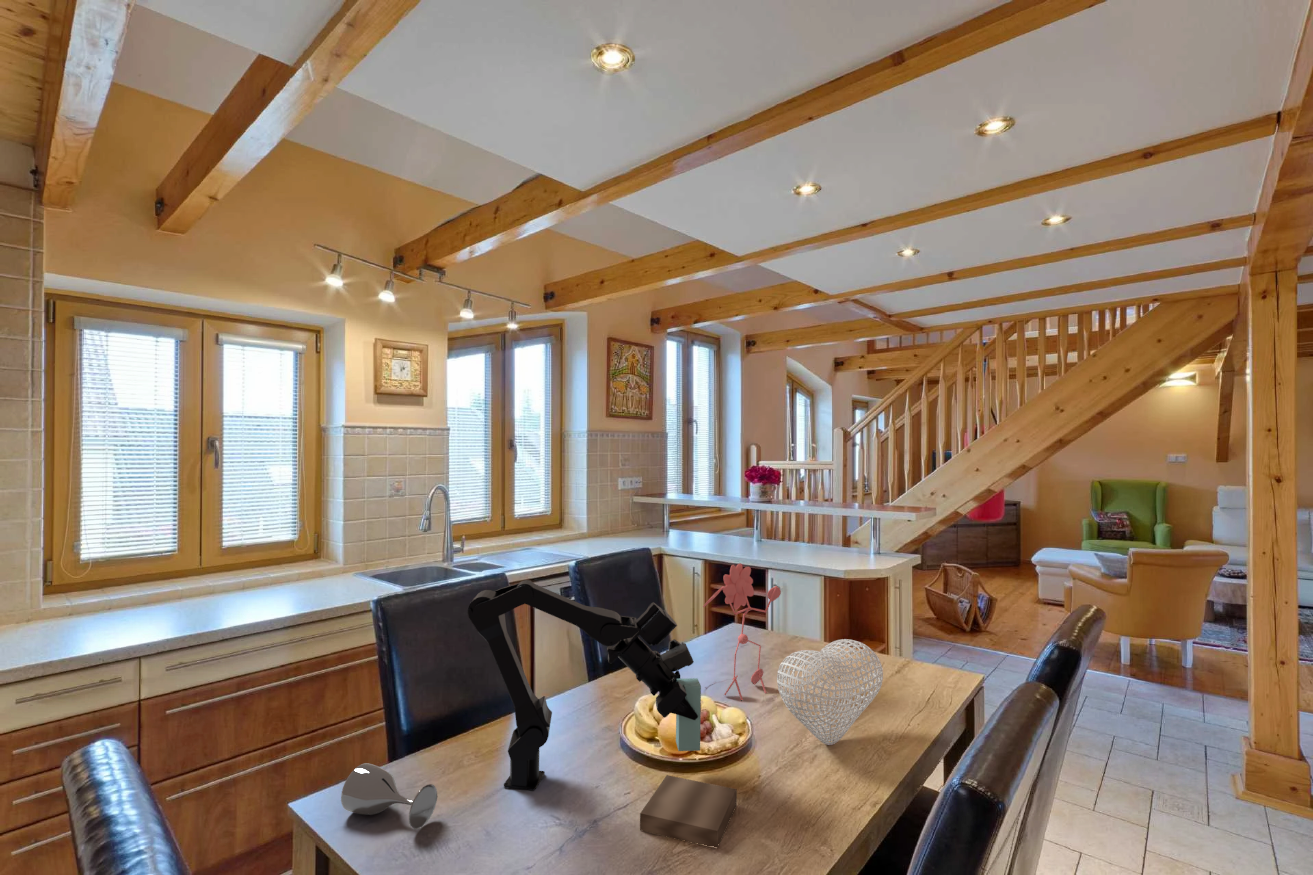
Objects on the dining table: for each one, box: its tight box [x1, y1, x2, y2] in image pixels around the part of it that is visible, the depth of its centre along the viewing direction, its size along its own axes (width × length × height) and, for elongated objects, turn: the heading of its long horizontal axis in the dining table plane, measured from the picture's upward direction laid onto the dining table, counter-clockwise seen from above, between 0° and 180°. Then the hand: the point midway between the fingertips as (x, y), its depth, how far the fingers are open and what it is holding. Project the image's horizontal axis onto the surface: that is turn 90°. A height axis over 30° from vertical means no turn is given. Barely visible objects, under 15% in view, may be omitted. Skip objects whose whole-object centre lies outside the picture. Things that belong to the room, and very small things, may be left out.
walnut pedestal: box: [639, 774, 738, 848], centre depth 117 cm, size 14×14×3 cm
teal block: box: [675, 677, 702, 752], centre depth 132 cm, size 4×4×13 cm
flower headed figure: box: [702, 562, 782, 701], centre depth 178 cm, size 15×26×35 cm, turn 128°
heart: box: [776, 638, 884, 746], centre depth 146 cm, size 28×16×22 cm, turn 127°
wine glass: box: [340, 762, 438, 831], centre depth 116 cm, size 8×8×15 cm
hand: (694, 713), depth 132 cm, fingers closed on teal block, 4 cm apart
